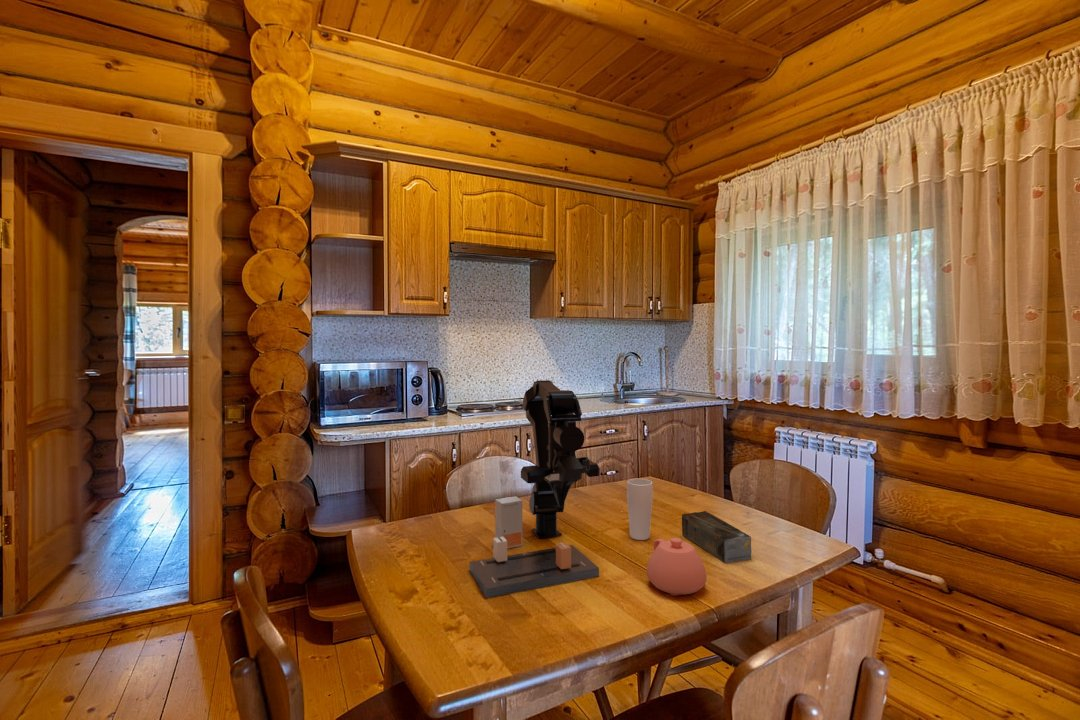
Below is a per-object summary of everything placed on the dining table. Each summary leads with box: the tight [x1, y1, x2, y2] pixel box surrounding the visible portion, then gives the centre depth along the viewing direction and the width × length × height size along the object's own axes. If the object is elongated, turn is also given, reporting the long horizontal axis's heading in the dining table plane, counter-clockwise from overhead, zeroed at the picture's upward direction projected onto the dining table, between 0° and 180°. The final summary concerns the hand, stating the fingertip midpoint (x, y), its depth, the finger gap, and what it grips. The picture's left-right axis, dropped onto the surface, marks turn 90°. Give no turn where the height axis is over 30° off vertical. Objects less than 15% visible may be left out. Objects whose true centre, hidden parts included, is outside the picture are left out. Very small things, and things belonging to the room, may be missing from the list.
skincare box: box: [494, 495, 523, 550], centre depth 134 cm, size 6×4×12 cm
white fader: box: [492, 537, 508, 562], centre depth 120 cm, size 3×2×5 cm
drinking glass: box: [626, 478, 654, 541], centre depth 139 cm, size 7×7×15 cm
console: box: [468, 544, 600, 599], centre depth 118 cm, size 14×26×2 cm, turn 112°
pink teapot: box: [646, 537, 707, 597], centre depth 112 cm, size 12×14×10 cm
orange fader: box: [555, 542, 571, 569], centre depth 116 cm, size 3×2×5 cm
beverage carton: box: [681, 510, 752, 564], centre depth 133 cm, size 8×19×7 cm, turn 16°
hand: (560, 506), depth 127 cm, fingers closed
